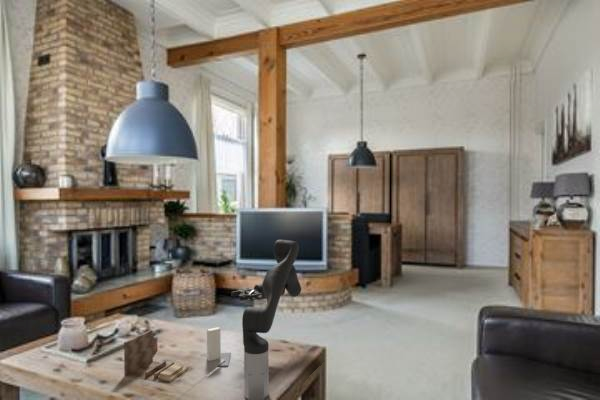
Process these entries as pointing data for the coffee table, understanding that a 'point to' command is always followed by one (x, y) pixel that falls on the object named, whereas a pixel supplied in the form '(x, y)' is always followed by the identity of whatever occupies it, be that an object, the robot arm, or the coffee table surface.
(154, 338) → the lighter
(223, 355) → the mat
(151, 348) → the rack
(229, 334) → the coffee table surface
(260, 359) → the robot arm
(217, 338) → the block
